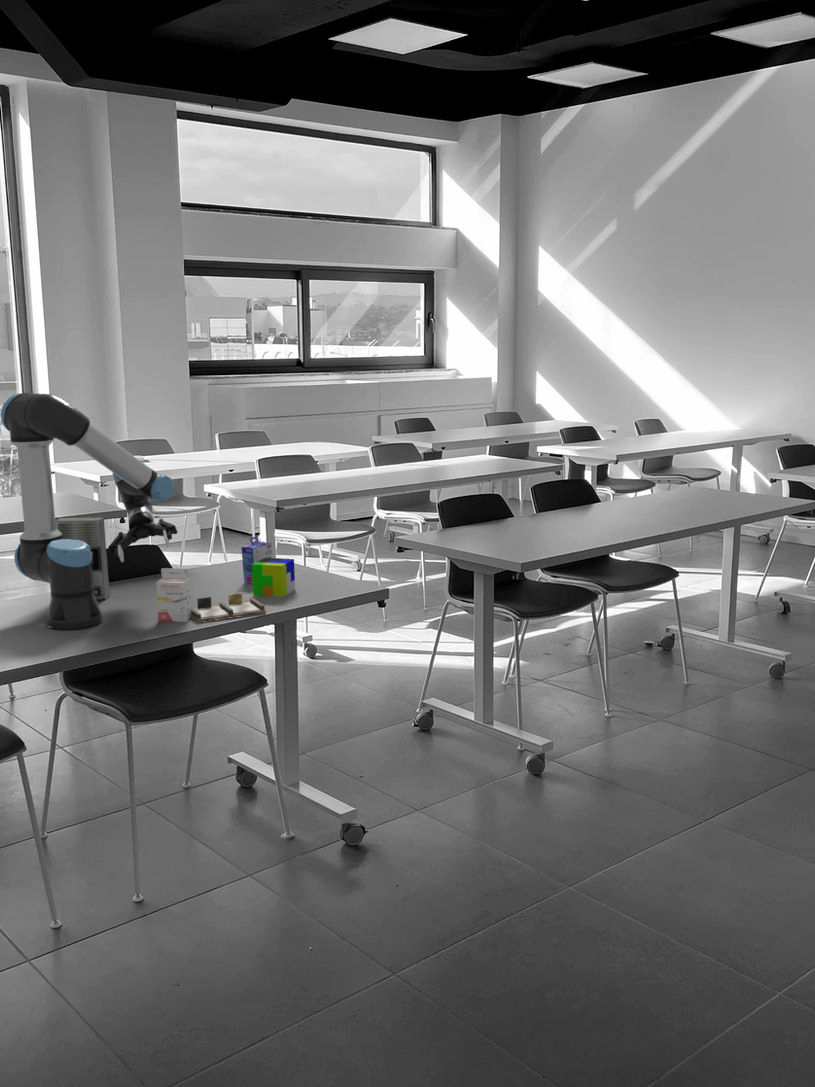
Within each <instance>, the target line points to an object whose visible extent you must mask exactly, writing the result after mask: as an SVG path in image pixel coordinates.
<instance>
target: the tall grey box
mask: <svg viewBox="0 0 815 1087" xmlns="http://www.w3.org/2000/svg"><path fill="white" fill-rule="evenodd" d="M55 523H56V529H57V530H59V531H60V532H61V533H62V539H71V540H80V541H83V542H85V543H87V544H88V545H89V547H90V551H91V555H92V573H93V588H94V596H95V598H96V600H102V599H105V600H106V599H107V598H108V597H109V596H110V595H111V591H110V582H109V572H108V571H109V569H108V556H107V541H106V530H105V529H106V528H105V517H60V518H58V519H55Z"/></svg>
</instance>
